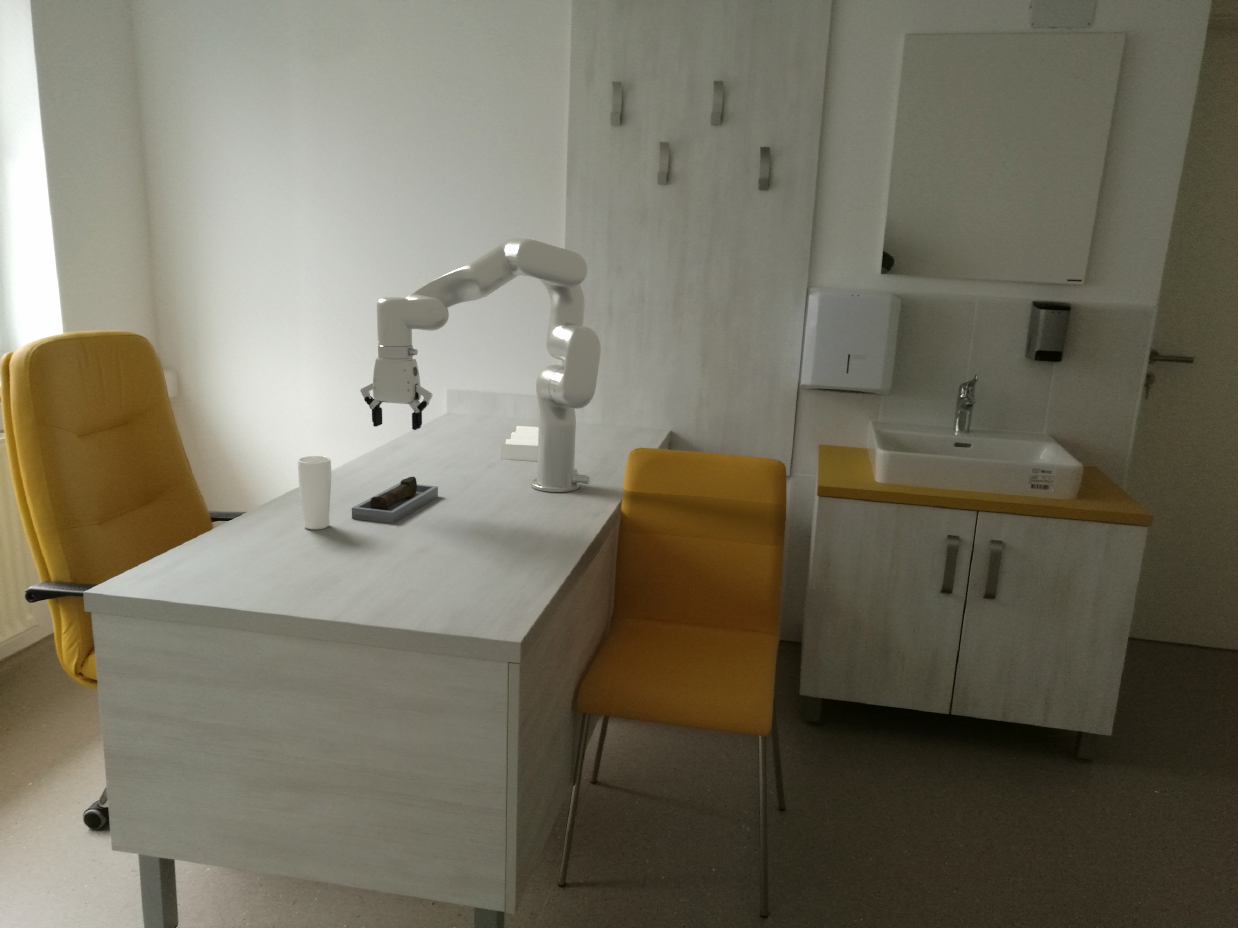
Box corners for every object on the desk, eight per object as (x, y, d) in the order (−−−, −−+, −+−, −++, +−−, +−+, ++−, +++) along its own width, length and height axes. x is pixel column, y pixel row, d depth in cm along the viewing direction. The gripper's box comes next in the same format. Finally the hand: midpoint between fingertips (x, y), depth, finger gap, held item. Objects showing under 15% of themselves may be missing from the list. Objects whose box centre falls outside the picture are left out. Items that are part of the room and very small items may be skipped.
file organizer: (558, 438, 305) (559, 423, 304) (545, 463, 271) (546, 446, 270) (518, 436, 305) (519, 421, 304) (500, 461, 271) (501, 443, 270)
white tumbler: (303, 532, 198) (300, 464, 195) (297, 523, 204) (295, 457, 201) (335, 529, 201) (333, 461, 198) (329, 520, 207) (327, 454, 204)
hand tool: (385, 514, 210) (385, 494, 209) (369, 512, 211) (369, 492, 210) (426, 494, 228) (426, 476, 227) (411, 492, 229) (411, 474, 228)
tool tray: (437, 496, 230) (437, 486, 230) (393, 523, 207) (392, 512, 207) (400, 492, 232) (400, 482, 232) (351, 518, 210) (351, 507, 209)
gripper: (437, 353, 213) (438, 427, 217) (368, 348, 217) (370, 421, 221) (423, 357, 206) (425, 433, 210) (352, 352, 210) (354, 427, 214)
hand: (397, 427), depth 216 cm, fingers open, 9 cm apart
